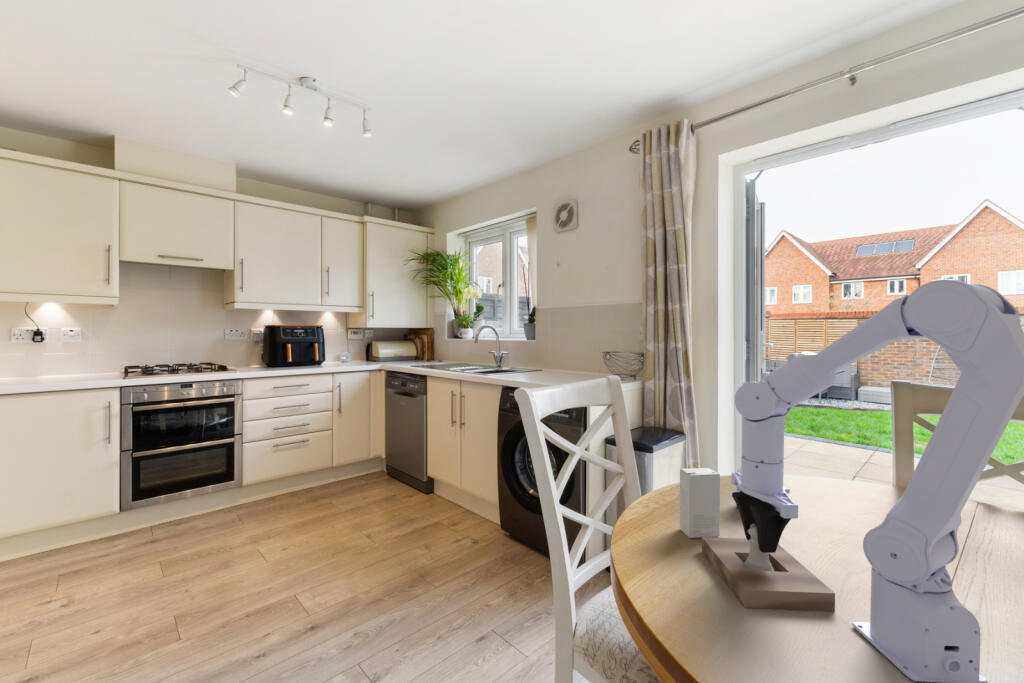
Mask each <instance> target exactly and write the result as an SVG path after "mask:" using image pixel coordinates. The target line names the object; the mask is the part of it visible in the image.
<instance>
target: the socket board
mask: <svg viewBox="0 0 1024 683" xmlns="http://www.w3.org/2000/svg"><path fill="white" fill-rule="evenodd" d="M701 552H702V553H703V555H704V556H705V558H707V560H708V561H709V563H710V564H711V565H712V567H713V568H714V569H715V570H716V572H717V573H718V575H719V576H720V577H721V579H722V580H723V581H724V582H725V584H726V585H727V587H728V588H729V589H730V590H731V591H732V593H733V595H734V596H735V597H736V598H737V599H738V601H739V603H741V604H743V605H742V606H743V607H744V608H745V609H765V610H767V609H769V610H770V609H771V610H789V611H791V610H794V611H795V610H796V611H813V612H814V611H815V612H819V611H821V612H835V611H836V593H835V592H834V590H832V589H831V588H830V587H828V585H826V584H825V583H824V582H823V581H821V580H820V579H819V578H818V577H817V576H816V575H814V574H813V572H811V571H810V570H809V569H808V568H806V567H805V566H804V565H803V564H802V563H801V562H800V561H798V560H797V559H796V558H795V557H794V556H793V555H791V553H789V552H788V551H787V550H786V549H784V547H782V546H781V545H780V544H779V543H778V546H777V549H776V552H775V553H768V554H769V561H770V563H771V565H772V567H773V569H774V572H772V571H751V570H750V569H749V568H748V567H747V566H746V565H745V564H744V562H745V561H746V560H747V558H748V556H749V552H750V542H749V541H748V540H747V539H746V537H744V538H743V537H742V538H740V537H739V538H738V537H701Z"/></svg>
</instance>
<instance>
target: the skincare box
mask: <svg viewBox="0 0 1024 683" xmlns="http://www.w3.org/2000/svg"><path fill="white" fill-rule="evenodd" d="M720 487H721V474H720V473H719V472H717V471H716V470H713V469H711V468H709V467H697V468H693V467H692V468H680V469H679V529H680V531H682V533H683V534H684V535H685V536H686V537H687V538H690V539H698V538H699V539H700V538H701V539H702V537H715V538H720V523H721V522H720V517H721V516H720V512H721V510H720V507H721V506H720V503H721V500H720V499H721V497H720V496H721V495H720V494H721V488H720Z"/></svg>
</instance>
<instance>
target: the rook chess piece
mask: <svg viewBox="0 0 1024 683" xmlns="http://www.w3.org/2000/svg"><path fill="white" fill-rule="evenodd" d="M748 533H749V534H750V536H751V539H750V540H749V542H750V552H749V556H748V558H747V560H746V561H745V562H744V564H745V565H746V566H747V567H748V568H749V569H750V570H751V571H772V572H774V569H773V567H772V565H771V563H770V561H769V554H768V553H763V552H761V551H760V549H759V545H758V536H757V527H756V526H755V524H751V525H750V529H748Z"/></svg>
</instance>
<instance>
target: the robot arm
mask: <svg viewBox="0 0 1024 683" xmlns="http://www.w3.org/2000/svg"><path fill="white" fill-rule="evenodd" d="M922 338H923V339H924V338H926V339H928V340H929V341H931V342H933V343H935V345H937V346H939V347H940V348H942V350H943V351H944V353H945V354H946V355H947V356H948V357H949V358H950V360H951V361H952V363H953V364H954V365H955V367H957V368H958V370H959V371H960V376H959V378H958V380H957V381H956V385H955V387H954V388H953V391H952V393H951V395H950V397H949V398H948V401H947V403H946V404H945V407H944V409H943V411H942V413H941V415H940V416H939V420H938V422H937V424H936V426H935V427H934V429H933V431H932V434H931V436H930V438H929V440H928V442H927V444H926V446H925V448H924V450H923V453H922V455H921V457H920V458H919V461H918V463H917V464H916V466H915V467H916V468H915V469H914V471H913V474H912V476H910V479H909V482H908V484H907V486H906V488H905V490H904V491H903V494H902V496H900V498H899V499H898V500H897V501H896V502H895V504H894V505H893V506H892V507H891V508H890V509H889V511H888V512H887V513H886V516H885V518H884V519H883V520H882V522H881V523H880V524H879V525H877V526H875V527H873V528H871V529H869V530H868V531H866V532H867V533H866V534H864V538H863V540H862V549H863V552H864V556H865V558H866V560H867V562H868V563H869V564H870V565H871V567H870V568H871V570H870V576H871V577H870V615H869V616H870V618H869V620H870V621H852V627H853V628H854V629H855V630H856V631H858V633H860V635H862V636H863V637H864V638H865V639H866V640H867V641H868V642H870V643H871V644H872V646H874V648H876V649H877V650H878V651H879V652H880V653H881V654H882V655H883V656H885V657H886V659H888V660H889V661H890V662H891V663H892V664H893V665H894V666H895V667H897V668H898V669H899V670H900V671H901V672H902V673H903V674H904V675H905V676H906V677H907V678H908V679H910V680H912V681H914V682H921V683H923V682H925V683H988V679H987V678H986V677H985V676H984V675H983V674H980V668H981V667H980V666H981V665H980V660H981V627H980V624H979V621H978V620H977V617H976V616H975V615H974V613H972V612H971V611H970V610H969V609H968V608H967V607H965V605H963V603H962V602H961V601H960V600H959V599H958V598H957V596H956V594H955V592H954V589H953V581H952V579H951V576H950V574H949V572H948V570H947V566H946V565H949V564H951V563H952V562H954V561H955V559H956V558H957V557H958V555H959V549H960V548H959V547H960V546H959V542H958V531H959V527H960V526H961V524H962V522H963V520H962V515H961V514H962V511H963V509H964V507H965V506H966V504H967V502H968V499H969V498H970V496H971V494H972V492H973V491H974V489H975V486H976V485H977V482H978V481H979V479H980V477H981V475H982V474H983V472H984V470H985V468H986V466H987V464H988V462H989V460H990V458H991V457H992V455H993V454H994V451H995V449H996V447H997V446H998V443H999V441H1000V440H1001V439H1002V436H1003V434H1004V432H1005V430H1006V428H1007V426H1008V425H1009V423H1010V420H1011V419H1012V417H1013V415H1014V414H1015V412H1016V410H1017V408H1018V406H1019V403H1020V402H1021V401H1022V398H1023V396H1024V329H1023V327H1022V323H1021V318H1020V311H1019V309H1018V308H1016V306H1014V305H1013V304H1012V303H1011V302H1010V301H1009V300H1007V298H1006V297H1005V296H1004V295H1002V293H1000V292H999V291H997V289H994V288H993V287H990V286H987V285H983V284H976V283H968V282H965V281H961V280H957V279H951V278H941V279H940V278H939V279H935V280H930V281H928V282H925V283H924V284H921V285H920V286H918V287H916V289H914V290H913V291H912V292H911V293H910V294H904V295H903V296H902V295H901V296H900V297H898V298H895V299H894V300H892V301H891V302H890V303H888V304H887V305H886V306H884V307H883V308H882V309H880V310H879V311H877V312H876V313H874V314H873V315H871V316H870V317H869V318H867V319H865V320H864V321H863V322H861V323H860V324H858V325H857V326H856V327H854V328H852V329H851V330H850V331H848V332H847V333H845V334H844V335H841V337H839V338H838V339H836V340H835V341H833V342H832V343H830V344H829V345H828V346H826V347H824V348H823V349H822V350H820V351H819V352H817V353H816V352H811V351H802V352H800V353H799V352H792V353H790V354H789V355H787V356H786V357H785V358H786V360H787V361H786V362H784V363H783V364H781V365H780V366H779V367H777V368H775V369H773V370H772V371H771V372H770V371H764V372H763V373H762V374H760V377H761V378H760V380H759V381H755V380H753V381H752V380H751V381H745V382H743V383H742V385H741V386H739V387H738V389H737V390H736V392H735V395H734V404H735V409H736V410H737V411H738V413H739V414H740V415H741V456H740V466H741V472H737V471H735V472H733V471H732V472H731V484H732V485H734V486H737V485H738V486H739V488H740V492H737V491H733V492H732V493H731V497H732V498H733V500H734V502H735V504H736V508H737V509H738V512H739V514H740V518H741V522H742V527H743V531H744V535H745V538H746V539H747V540H748V541H749V540H750V539H751V536H750V534H749V533H748V529H750V525H751V524H755V526H756V527H757V536H758V545H759V549H760V551H761V552H763V553H775V552H776V549H777V546H778V544H779V543H780V539H781V537H782V534H783V532H784V530H785V528H786V526H788V523H789V522H790V521H791V520H793V519H795V520H796V519H799V504H797V503H795V501H793V500H792V498H791V497H790V495H788V494H791V489H790V488H789V487H788V486H785V485H784V470H785V469H784V465H785V462H784V459H785V458H784V457H785V453H784V452H785V451H784V450H785V425H786V418H787V416H788V415H789V414H790V413H791V411H792V410H793V408H794V407H795V406H798V405H799V404H801V403H803V402H804V401H806V400H808V399H810V398H812V397H814V396H816V395H817V394H820V393H821V392H823V391H825V390H826V389H829V388H830V387H832V386H833V385H834V384H835V383H834V382H835V379H836V374H837V372H838V371H840V370H842V369H844V368H846V367H848V366H851V365H852V364H854V363H855V362H858V361H859V360H862V359H864V358H866V357H867V356H869V355H871V354H873V353H875V352H876V351H879V350H881V349H883V348H885V347H887V346H889V345H890V344H892V343H895V342H897V341H901V340H903V341H904V340H910V339H911V340H913V339H922Z"/></svg>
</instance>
